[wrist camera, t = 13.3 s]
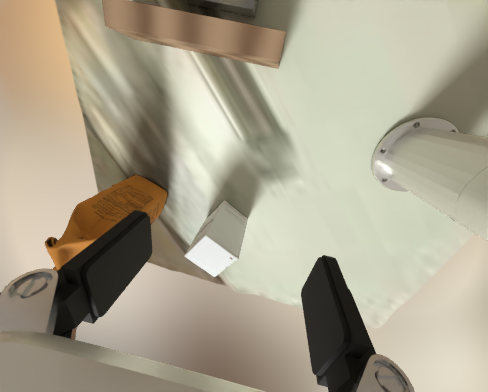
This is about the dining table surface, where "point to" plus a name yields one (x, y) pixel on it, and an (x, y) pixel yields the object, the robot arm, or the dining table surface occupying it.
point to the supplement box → (218, 240)
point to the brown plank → (195, 32)
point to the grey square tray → (228, 5)
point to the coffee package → (105, 215)
